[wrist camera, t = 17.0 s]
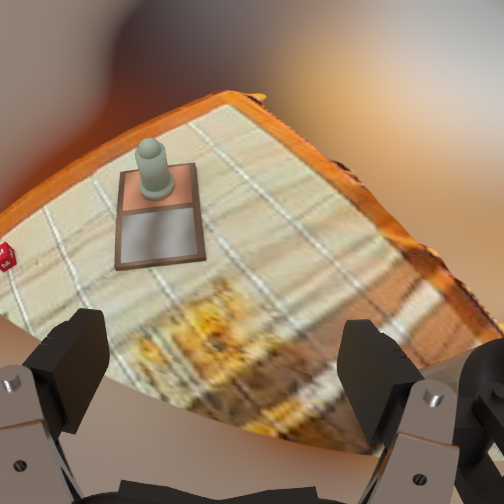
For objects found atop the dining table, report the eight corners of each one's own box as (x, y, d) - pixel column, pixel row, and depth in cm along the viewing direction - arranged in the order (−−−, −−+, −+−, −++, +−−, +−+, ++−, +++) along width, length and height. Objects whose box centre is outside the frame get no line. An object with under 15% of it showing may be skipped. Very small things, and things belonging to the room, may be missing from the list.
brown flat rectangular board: (195, 166, 54) (195, 162, 53) (205, 260, 46) (205, 256, 45) (121, 175, 52) (120, 171, 51) (116, 270, 44) (114, 267, 43)
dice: (14, 250, 43) (5, 241, 41) (16, 264, 42) (7, 255, 40) (1, 258, 42) (-8, 249, 40) (3, 272, 41) (-6, 264, 39)
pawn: (174, 172, 51) (167, 125, 43) (175, 198, 49) (167, 152, 40) (141, 176, 51) (129, 130, 42) (140, 203, 48) (126, 157, 39)
